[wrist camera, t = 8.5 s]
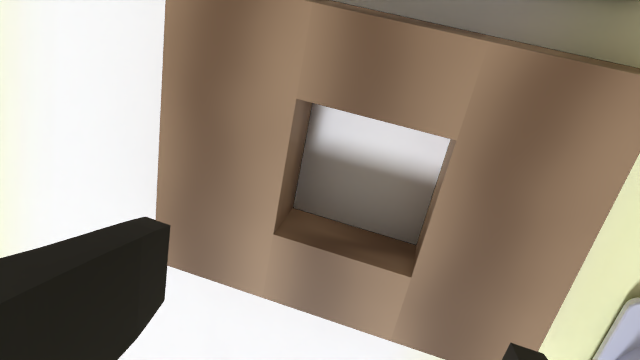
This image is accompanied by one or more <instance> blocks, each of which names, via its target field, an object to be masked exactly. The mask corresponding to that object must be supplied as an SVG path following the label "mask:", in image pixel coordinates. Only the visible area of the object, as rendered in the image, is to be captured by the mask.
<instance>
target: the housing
mask: <svg viewBox="0 0 640 360" xmlns="http://www.w3.org/2000/svg"><path fill="white" fill-rule="evenodd" d="M312 103H315V104H319V105H322V106H326V107H330V108H334V109H338V110H342V111H346V112H349V113H353V114H357V115H361V116H365V117H369V118H372V119H376V120H380V121H384V122H388V123H392V124H396V125H399V126H403V127H407V128H411V129H415V130H419V131H422V132H426V133H430V134H434V135H438V136H442V137H446V138H449V139H451V140H450V143H449V146H448V149H447V152H446V155H445V158H444V161H443V164H442V168H441V171H440V174H439V177H438V180H437V183H436V186H435V189H434V192H433V195H432V198H431V201H430V204H429V208H428V211H427V214H426V217H425V220H424V223H423V226H422V229H421V232H420V235H419V238H418V241H417V245H413V244H410V243H407V242H404V241H400V240H397V239H394V238H390V237H387V236H384V235H380V234H377V233H374V232H370V231H367V230H364V229H360V228H357V227H354V226H350V225H347V224H344V223H340V222H337V221H334V220H331V219H327V218H324V217H321V216H317V215H314V214H311V213H307V212H304V211H301V210H297V209H294V208H293V204H294V199H295V194H296V188H297V183H298V177H299V172H300V167H301V161H302V156H303V151H304V145H305V140H306V134H307V129H308V124H309V118H310V113H311V107H312ZM639 153H640V69H639V68H634V67H630V66H625V65H621V64H616V63H612V62H607V61H603V60H598V59H594V58H589V57H584V56H580V55H575V54H571V53H566V52H562V51H557V50H553V49H548V48H544V47H539V46H535V45H530V44H526V43H521V42H516V41H512V40H507V39H503V38H498V37H494V36H489V35H485V34H480V33H476V32H471V31H467V30H462V29H458V28H453V27H448V26H444V25H439V24H435V23H430V22H426V21H421V20H417V19H412V18H408V17H403V16H399V15H394V14H390V13H385V12H380V11H376V10H371V9H367V8H362V7H358V6H353V5H349V4H344V3H340V2H335V1H331V0H166V4H165V26H164V48H163V70H162V92H161V114H160V136H159V158H158V180H157V202H156V220H157V221H160V222H162V223H165V224H168V225H171V226H170V238H169V250H168V262H167V266H170V267H173V268H176V269H179V270H182V271H185V272H188V273H191V274H194V275H197V276H200V277H203V278H206V279H209V280H212V281H215V282H218V283H221V284H224V285H227V286H229V287H232V288H235V289H238V290H241V291H244V292H247V293H250V294H253V295H256V296H259V297H262V298H265V299H268V300H271V301H274V302H277V303H280V304H283V305H286V306H289V307H291V308H294V309H297V310H300V311H303V312H306V313H309V314H312V315H315V316H318V317H321V318H324V319H327V320H330V321H333V322H336V323H339V324H342V325H345V326H348V327H351V328H354V329H356V330H359V331H362V332H365V333H368V334H371V335H374V336H377V337H380V338H383V339H386V340H389V341H392V342H395V343H398V344H401V345H404V346H407V347H410V348H413V349H416V350H419V351H421V352H424V353H427V354H430V355H433V356H436V357H439V358H442V359H445V360H502V358H503V356H504V354H505V352H506V350H507V348H508V346H509V345H510V343H514V344H517V345H520V346H522V347H525V348H528V349H531V350H534V351H537V352H538V350H539V348H540V346H541V344H542V343H543V341H544V339H545V337H546V335H547V333H548V331H549V329H550V327H551V325H552V323H553V321H554V319H555V317H556V315H557V313H558V311H559V309H560V307H561V305H562V303H563V302H564V300H565V298H566V296H567V294H568V292H569V290H570V288H571V286H572V284H573V282H574V280H575V278H576V276H577V274H578V272H579V270H580V268H581V266H582V264H583V262H584V261H585V259H586V257H587V255H588V253H589V251H590V249H591V247H592V245H593V243H594V241H595V239H596V237H597V235H598V233H599V231H600V229H601V227H602V225H603V223H604V221H605V220H606V218H607V216H608V214H609V212H610V210H611V208H612V206H613V204H614V202H615V200H616V198H617V196H618V194H619V192H620V190H621V188H622V186H623V184H624V182H625V180H626V179H627V177H628V175H629V173H630V171H631V169H632V167H633V165H634V163H635V161H636V159H637V157H638V155H639Z"/></svg>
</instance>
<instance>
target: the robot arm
mask: <svg viewBox="0 0 640 360" xmlns="http://www.w3.org/2000/svg"><path fill="white" fill-rule="evenodd" d="M170 226H171V225H168V224H165V223H162V222H160V221H157V220H154V219H151V218H148V217H142V218H138V219H134V220H130V221H126V222H123V223H119V224H116V225H113V226H109V227H106V228H103V229H100V230H96V231H93V232H90V233H87V234H83V235H80V236H77V237H74V238H70V239H67V240H64V241H60V242H57V243H54V244H51V245H47V246H44V247H40V248H37V249H33V250H29V251H26V252H22V253H18V254H15V255H11V256H7V257H3V258H0V360H118V359H119V357H120V356H121V355H122V354H123V353H124V352H125V351H126V350H127V349H128V348H129V347H130V346H131V344H132V343H133V342H134V341H135V340H136V339H137V338H138V336H139V335H140V334H141V332H142V331H143V330H144V328H145V327H146V326H147V324H148V323H149V322H150V320H151V319H152V317H153V316H154V314H155V313H156V312H157V310H158V309H159V307H160V306H161V304H162V303H163V302H164V299H165V287H166V274H167V262H168V250H169V238H170ZM502 360H548V359H547V358H546V356H545V355H544V354H543V353H540V352H537V351H534V350H531V349H528V348H525V347H522V346H520V345H517V344H514V343H510V345H509V346H508V348H507V350H506V352H505V354H504V356H503V358H502ZM592 360H640V298H639V297H638V298H632V299H630V300H628V301H627V302H626V303H625V304H624V306H623V308H622V309H621V311H620V313H619V315H618V316H617V318H616V320H615V321H614V323H613V325H612V327H611V328H610V330H609V332H608V333H607V335H606V337H605V339H604V340H603V342H602V344H601V345H600V347H599V349H598V351H597V352H596V354H595V356H594V357H593V359H592Z"/></svg>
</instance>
